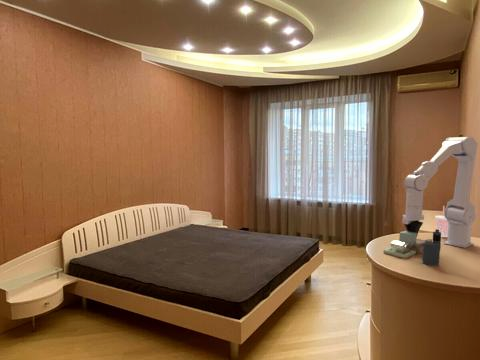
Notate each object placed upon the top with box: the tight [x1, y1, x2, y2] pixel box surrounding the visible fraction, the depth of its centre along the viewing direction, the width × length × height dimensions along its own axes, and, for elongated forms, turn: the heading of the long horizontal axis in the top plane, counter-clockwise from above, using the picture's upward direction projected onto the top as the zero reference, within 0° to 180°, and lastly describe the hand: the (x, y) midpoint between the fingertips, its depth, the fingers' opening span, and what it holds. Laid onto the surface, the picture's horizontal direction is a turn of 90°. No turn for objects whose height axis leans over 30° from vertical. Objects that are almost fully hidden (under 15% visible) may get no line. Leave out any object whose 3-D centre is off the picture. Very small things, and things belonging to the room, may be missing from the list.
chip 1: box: [390, 240, 405, 254], centre depth 121 cm, size 4×4×2 cm
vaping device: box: [421, 228, 442, 266], centre depth 110 cm, size 3×5×12 cm, turn 79°
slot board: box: [410, 238, 433, 255], centre depth 129 cm, size 14×10×3 cm, turn 128°
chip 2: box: [400, 241, 410, 253], centre depth 123 cm, size 4×4×2 cm
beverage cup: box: [434, 205, 449, 238], centre depth 146 cm, size 6×6×14 cm
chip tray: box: [383, 246, 417, 259], centre depth 122 cm, size 9×8×1 cm
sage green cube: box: [398, 230, 418, 248], centre depth 126 cm, size 4×4×5 cm
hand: (412, 239), depth 128 cm, fingers closed
